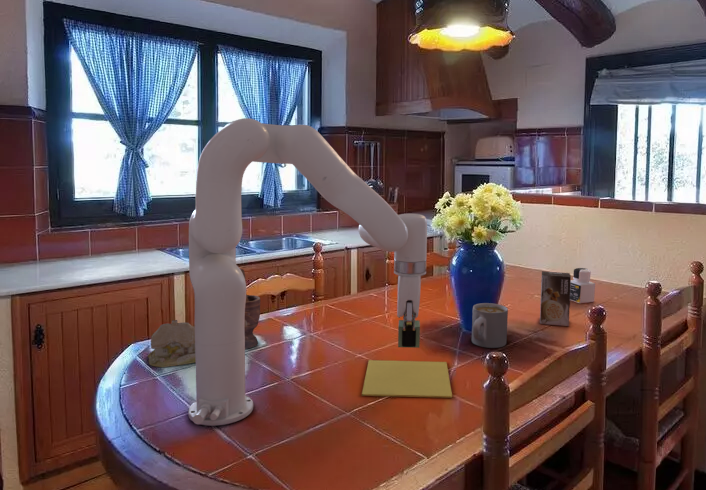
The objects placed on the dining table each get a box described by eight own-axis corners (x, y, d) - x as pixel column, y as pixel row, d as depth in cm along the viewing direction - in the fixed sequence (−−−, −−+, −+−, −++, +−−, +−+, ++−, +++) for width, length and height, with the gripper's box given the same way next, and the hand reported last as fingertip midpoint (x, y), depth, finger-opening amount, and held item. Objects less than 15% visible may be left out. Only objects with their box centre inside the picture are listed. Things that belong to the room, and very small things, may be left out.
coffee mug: (486, 333, 167) (487, 301, 166) (513, 342, 160) (515, 308, 159) (456, 343, 158) (457, 309, 157) (483, 353, 151) (484, 317, 150)
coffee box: (568, 320, 182) (571, 272, 180) (569, 326, 176) (571, 276, 174) (539, 318, 184) (541, 270, 182) (539, 324, 178) (541, 274, 176)
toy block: (419, 347, 130) (419, 326, 129) (398, 347, 130) (398, 326, 129) (419, 340, 135) (419, 320, 134) (398, 340, 135) (398, 319, 134)
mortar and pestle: (216, 341, 155) (215, 271, 152) (244, 334, 161) (244, 266, 159) (238, 352, 147) (237, 278, 144) (266, 345, 153) (266, 273, 151)
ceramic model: (141, 369, 135) (140, 328, 134) (150, 352, 145) (149, 315, 144) (203, 364, 138) (202, 325, 137) (207, 348, 149) (206, 312, 148)
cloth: (452, 397, 123) (452, 396, 123) (361, 395, 123) (361, 393, 123) (446, 363, 143) (446, 361, 143) (368, 361, 143) (368, 360, 143)
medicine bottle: (566, 298, 209) (568, 267, 208) (581, 297, 212) (583, 266, 211) (579, 303, 203) (581, 271, 201) (594, 302, 206) (596, 270, 204)
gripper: (395, 259, 138) (394, 330, 140) (392, 274, 121) (391, 355, 124) (425, 259, 138) (423, 330, 140) (427, 275, 121) (425, 355, 124)
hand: (408, 341), depth 132 cm, fingers closed on toy block, 5 cm apart
